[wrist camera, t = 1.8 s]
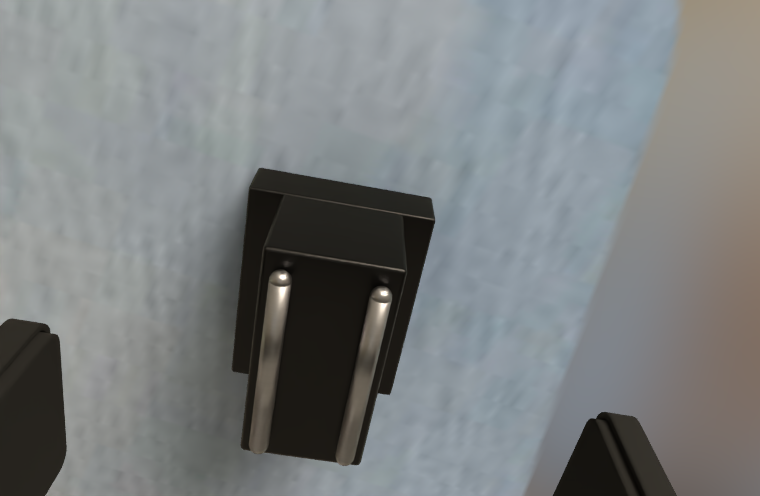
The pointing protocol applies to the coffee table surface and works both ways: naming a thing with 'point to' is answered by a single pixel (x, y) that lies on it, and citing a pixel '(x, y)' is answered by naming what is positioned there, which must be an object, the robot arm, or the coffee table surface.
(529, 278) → the coffee table surface
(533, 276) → the coffee table surface
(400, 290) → the clip
